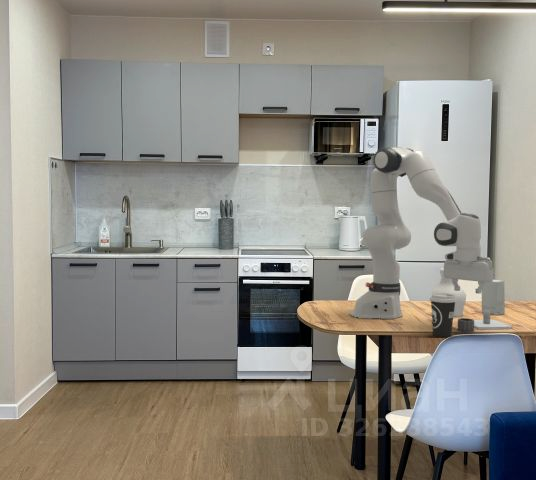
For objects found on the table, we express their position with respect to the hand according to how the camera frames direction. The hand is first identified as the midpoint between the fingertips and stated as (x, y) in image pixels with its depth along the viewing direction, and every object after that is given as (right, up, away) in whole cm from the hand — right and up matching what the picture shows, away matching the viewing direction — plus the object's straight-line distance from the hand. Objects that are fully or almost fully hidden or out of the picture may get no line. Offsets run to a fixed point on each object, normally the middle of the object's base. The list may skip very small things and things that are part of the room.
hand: (467, 292), depth 248 cm
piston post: (+11, -14, +10) cm, 20 cm away
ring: (0, -15, +1) cm, 15 cm away
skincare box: (+23, -13, +38) cm, 46 cm away
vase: (+2, -13, +34) cm, 36 cm away
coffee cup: (-12, -15, -9) cm, 21 cm away
